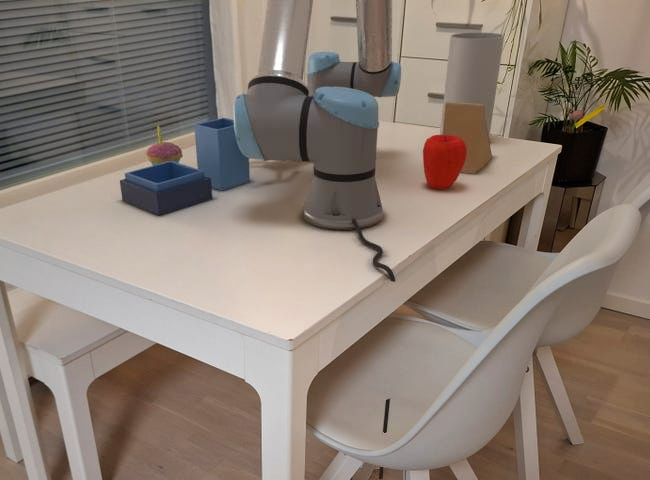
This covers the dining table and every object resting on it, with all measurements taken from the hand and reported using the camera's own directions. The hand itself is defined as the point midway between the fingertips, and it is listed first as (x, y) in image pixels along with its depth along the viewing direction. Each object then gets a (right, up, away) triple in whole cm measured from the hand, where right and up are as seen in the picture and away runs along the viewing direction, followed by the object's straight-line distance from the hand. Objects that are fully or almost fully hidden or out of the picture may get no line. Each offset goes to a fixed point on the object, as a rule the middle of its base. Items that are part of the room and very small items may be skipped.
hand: (226, 146), depth 150 cm
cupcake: (-15, -3, +11) cm, 19 cm away
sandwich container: (+57, -1, +10) cm, 57 cm away
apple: (+47, -10, -4) cm, 48 cm away
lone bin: (-1, -7, +3) cm, 8 cm away
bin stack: (-12, -13, -6) cm, 19 cm away
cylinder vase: (+61, +10, +27) cm, 68 cm away
